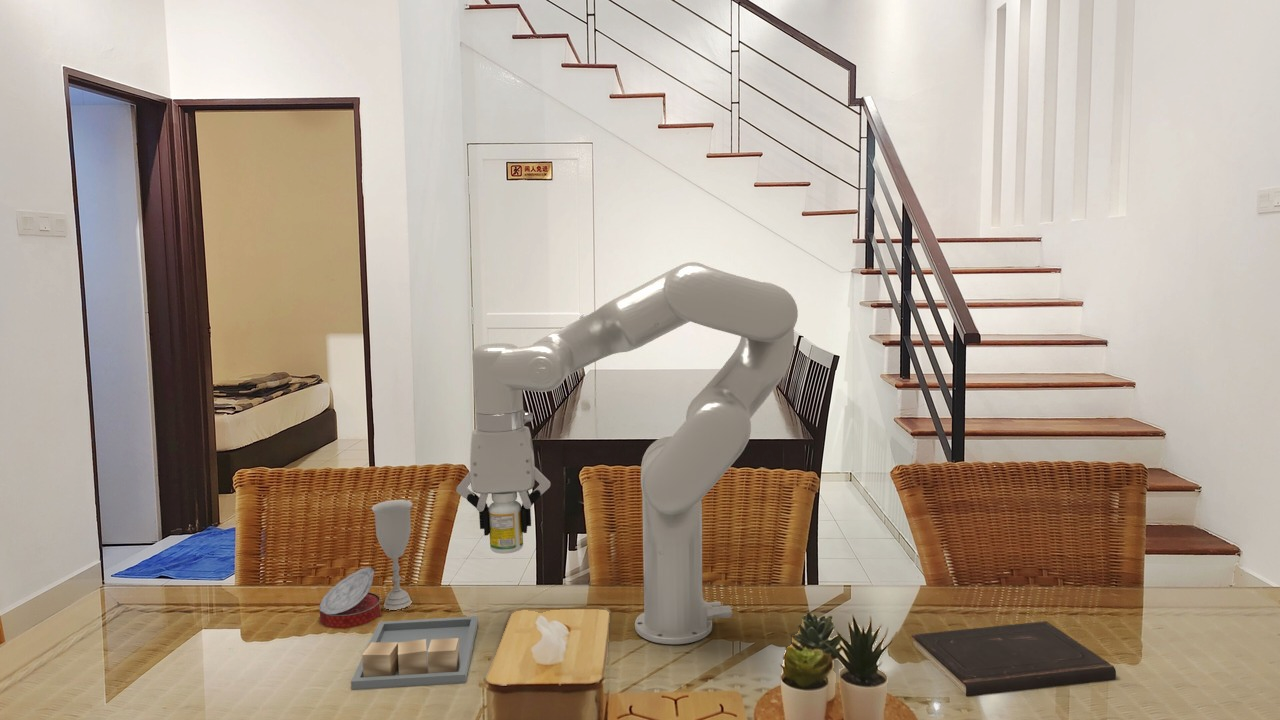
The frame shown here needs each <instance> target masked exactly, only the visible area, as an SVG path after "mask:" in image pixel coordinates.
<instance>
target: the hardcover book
mask: <svg viewBox="0 0 1280 720" xmlns="http://www.w3.org/2000/svg"><path fill="white" fill-rule="evenodd" d="M911 637H912V639H913V642H912V643H913V646H914V648H915V649H916V650H918V651H919V653H921V654H922V655H923V656H924V657H925V658H926V659H927V660H928V661H929V662H930V663H931V664H933V666H935V667H936V668H937V669H938V670H939V671H940V672H941V673H942V674H943V675H945V677H947V678H948V679H949V680H950V681H951V682H952V683H953V684H954V686H955V685H956V687H958V689H959V690H960V691H962V693H964V694H965V696H966V697H973V696H981V695H988V694H989V695H991V694H998V693H1000V694H1001V693H1007V692H1018V691H1025V690H1026V691H1027V690H1035V689H1043V688H1051V687H1063V686H1069V685H1076V684H1077V685H1078V684H1079V685H1080V684H1088V683H1097V682H1105V681H1113V680H1114V681H1115V680H1116V677H1117V670H1116V668H1115V666H1114V665H1113V664H1112V663H1110V662H1108V661H1107V660H1105V659H1104V658H1103V657H1101V656H1100V655H1098V654H1096V653H1095V652H1093V651H1091V650H1090V649H1089V648H1088V647H1085V646H1084V644H1081V643H1079V642H1078V641H1077V640H1075V639H1073V638H1072V637H1070V636H1069V634H1068V635H1067V634H1066V633H1065V632H1063V631H1061V630H1060V629H1058V628H1057V627H1056V626H1054V625H1053V624H1051V623H1049V622H1048V621H1037V622H1036V621H1035V622H1034V621H1033V622H1027V623H1026V622H1025V623H1024V622H1023V623H1015V624H1004V625H996V626H995V625H994V626H987V627H986V626H985V627H977V628H966V629H956V630H947V631H945V630H944V631H935V632H926V633H917V634H911Z"/></svg>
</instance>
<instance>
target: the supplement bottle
mask: <svg viewBox="0 0 1280 720" xmlns="http://www.w3.org/2000/svg"><path fill="white" fill-rule="evenodd" d="M517 499H518V492H509V493H492V494H491V501H492V503H490V505H489V506H488V507H489V508H488V515H489V545H490V546H489V547H490V550H491V551H492V552H493V553H495V554H501V555H502V554H505V555H506V554H513V553H516V552H519V551H520V550H521V549H523V547H524V535H523V534H524V533H523V532H522V519H521V508H522V504H521V503H520V502H519V501H517Z"/></svg>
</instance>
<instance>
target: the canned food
mask: <svg viewBox="0 0 1280 720" xmlns="http://www.w3.org/2000/svg"><path fill="white" fill-rule="evenodd" d="M374 575H375V571H374V569H373V568H372V567H369V566H366V567H365V568H360V569H358V570H357V571H354V572H353V573H350V574H349V575H348V576H345V578H343V579H342V580H340V581H339V582H338V583H336V584H335V585H334V586H332V587H331V588H329V590H328V592H327V593H326V594H325V595H324V596H323V597H322V600H321V602H320V604H319V607H318V608H319V620H320V623H321V625H323V626H324V627H325V626H326V627H329V628H334V629H344V628H345V629H347V628H353V627H354V628H355V627H359V626H362V625H366V624H369V623H370V622H373V621H375V620H376V619H377V618H381V617H382V616H381V615H382V614H381V613H382V611H381V597H380V596H379V595H378V594H376V593H373V592H370V590H371V587H372V585H373V580H374V579H373V578H374Z"/></svg>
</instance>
